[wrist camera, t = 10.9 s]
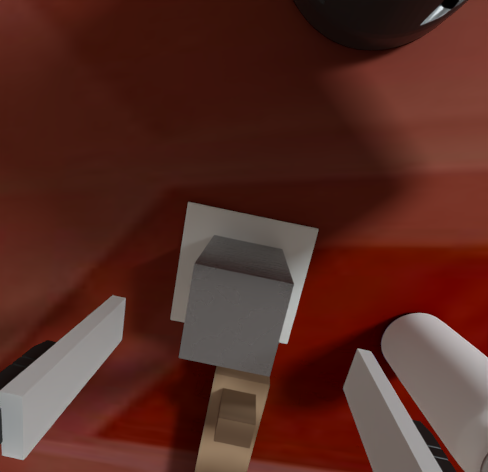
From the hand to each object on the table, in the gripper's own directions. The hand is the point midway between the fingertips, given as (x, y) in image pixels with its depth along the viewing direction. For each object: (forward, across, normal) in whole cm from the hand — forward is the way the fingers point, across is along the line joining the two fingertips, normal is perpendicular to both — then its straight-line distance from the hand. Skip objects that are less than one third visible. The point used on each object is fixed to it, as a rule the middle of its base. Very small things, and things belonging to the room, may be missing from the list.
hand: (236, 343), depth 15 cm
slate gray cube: (+11, 0, -1) cm, 11 cm away
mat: (+11, 0, -1) cm, 11 cm away
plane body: (+11, +2, -21) cm, 23 cm away
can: (+12, +18, -4) cm, 21 cm away
